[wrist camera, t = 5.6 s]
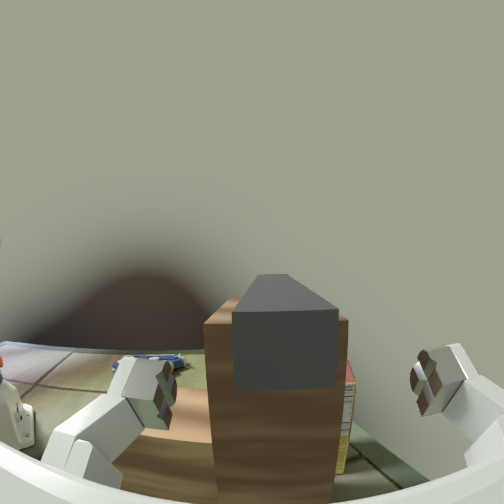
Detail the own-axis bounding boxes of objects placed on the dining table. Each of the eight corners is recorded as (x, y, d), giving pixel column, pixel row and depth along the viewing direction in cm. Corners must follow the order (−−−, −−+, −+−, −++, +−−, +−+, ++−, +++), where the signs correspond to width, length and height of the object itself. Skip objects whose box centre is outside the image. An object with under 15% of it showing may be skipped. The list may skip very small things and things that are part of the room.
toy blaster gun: (185, 381, 71) (187, 363, 86) (183, 366, 71) (186, 350, 86) (108, 381, 67) (121, 364, 82) (105, 366, 68) (119, 351, 82)
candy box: (315, 443, 41) (320, 359, 42) (341, 442, 40) (349, 358, 41) (315, 475, 32) (323, 382, 33) (345, 474, 32) (358, 380, 32)
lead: (336, 386, 8) (339, 308, 8) (233, 390, 8) (231, 311, 8) (287, 296, 32) (286, 274, 32) (258, 297, 32) (257, 274, 32)
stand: (317, 556, 17) (348, 315, 18) (142, 544, 18) (82, 313, 19) (306, 482, 31) (314, 292, 32) (174, 477, 32) (151, 294, 33)
